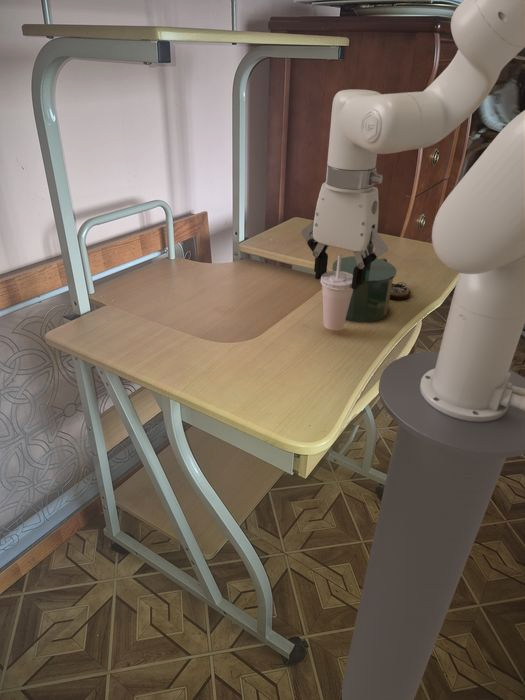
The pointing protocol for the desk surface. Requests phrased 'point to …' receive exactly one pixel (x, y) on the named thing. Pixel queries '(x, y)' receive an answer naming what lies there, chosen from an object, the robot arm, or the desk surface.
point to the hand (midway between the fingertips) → (338, 280)
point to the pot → (369, 301)
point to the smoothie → (336, 297)
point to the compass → (399, 290)
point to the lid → (369, 268)
